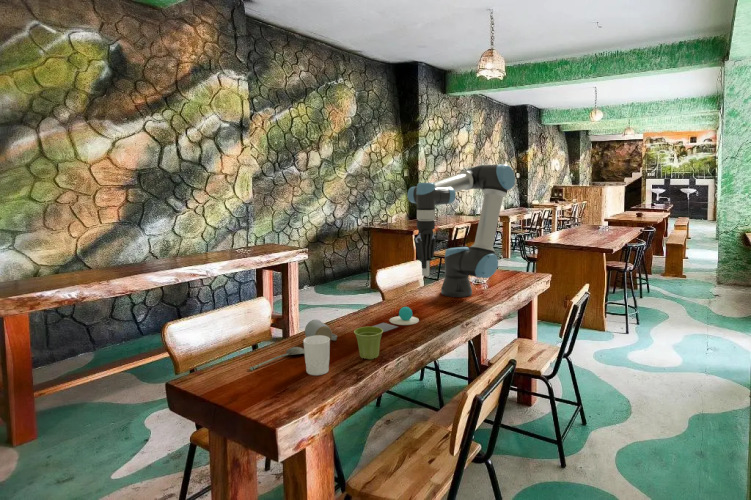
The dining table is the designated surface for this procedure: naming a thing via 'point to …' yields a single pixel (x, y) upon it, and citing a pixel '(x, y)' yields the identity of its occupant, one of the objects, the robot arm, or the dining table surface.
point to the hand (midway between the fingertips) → (425, 275)
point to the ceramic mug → (319, 329)
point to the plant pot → (368, 341)
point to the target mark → (404, 321)
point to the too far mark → (385, 326)
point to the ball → (405, 313)
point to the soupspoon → (289, 352)
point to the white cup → (317, 354)
